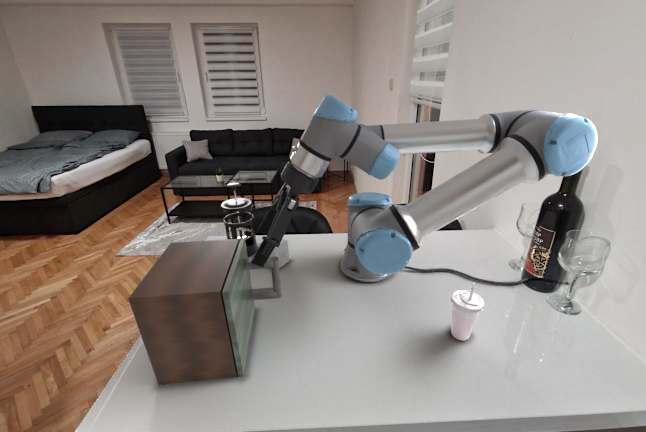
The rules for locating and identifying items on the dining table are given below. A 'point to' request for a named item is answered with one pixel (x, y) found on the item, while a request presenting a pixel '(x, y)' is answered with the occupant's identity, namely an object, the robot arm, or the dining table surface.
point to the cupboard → (187, 312)
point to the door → (245, 300)
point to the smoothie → (465, 312)
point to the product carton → (281, 253)
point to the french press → (242, 210)
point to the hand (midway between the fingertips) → (260, 247)
